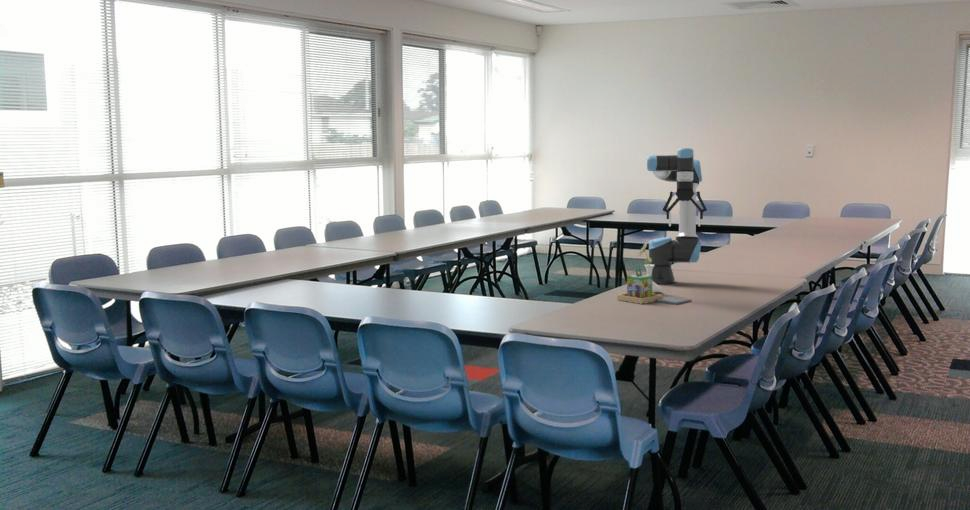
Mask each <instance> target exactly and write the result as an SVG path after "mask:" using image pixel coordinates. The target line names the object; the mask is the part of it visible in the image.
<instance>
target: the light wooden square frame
mask: <svg viewBox="0 0 970 510" xmlns="http://www.w3.org/2000/svg"><path fill="white" fill-rule="evenodd" d="M616 297H617V299H616V300H617V301H620V300H621V302H626V301H628V302H627V303H632V302H634V303H633V304H638V303H640V304H639V305H643V304H642V303H645V304H648V302H650V303H654V302H653V301H655V302H656V299H661V298H663V294H660V293H652V297H646V298H635V297H629V296H627V292H626V293H621V294H617V296H616Z"/></svg>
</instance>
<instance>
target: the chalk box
mask: <svg viewBox="0 0 970 510" xmlns="http://www.w3.org/2000/svg"><path fill="white" fill-rule="evenodd" d="M626 293H627V296H629V297H635V298H646V297H652V276H647V274H642V270H641V268H636V269H635V274H632V275H628V276H627V277H626Z"/></svg>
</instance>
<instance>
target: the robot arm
mask: <svg viewBox="0 0 970 510" xmlns="http://www.w3.org/2000/svg"><path fill="white" fill-rule="evenodd" d="M676 153H677V154H674V155H673V154H671V155H655V154H653V155H648V156H647V157H646V170H647V171H649V172H652V174H653V175H654V177H656V178H657V179H659V180H661V181H665V182H669V183H670V182H674V183H675V182H676V191H670V192H669V196H668V198H667V200H666V202H665V204H664V206H663V208H662V211H663V212H666V219H667V220H668V227H671V226H672V212H671V211H672V210H673V208H675V206H676V205H677V204H678V205H679V208H678V209H679V210H678V234H677V235H675V239H674V240H673V238H672V237H670V236H667V237H657V238H653V239H651V240H650V241H648V258H650V257H651V259H652V262H650V263H648V264H651V265H654V267H653V269H652V280H653V282H655V283H656V284H657V285H669V284H674V283H675V282H676V281H675V279H676V278H675V276H674V272H673V269H672V263H678V264H679V263H682V264H683V263H689V264H691V263H697V262H698V261H699V260H700V253H701V246H702V240H700V239H699V238H700V237H699V236H698V235H697V232H696V231H697V230H696V229H697V228H696V227H701V220H703V217H704V212H707V211H708V209H707V206H706V205H705V203H704V200H703V199H702V197H701V192H700V191H697V188H698V187H699V186H700V183H701V182H703V176H702V175H703V174H702V168H701V162H700V160H699V159H695V158H694V157H695V155H694V154H695V153H694V149H693V148H689V147H684V148H683V147H682V148H678V149H677V152H676ZM674 196H676V197H677V198H676V199H675V200H674V201H673V203H672V204H670V203H671V201H672V199H673V197H674ZM697 199H698V201H699V203H700V205H701V207H702V208H701V207H700V206H699V204H698V203H697ZM669 205H670V206H669ZM668 206H669V207H668ZM697 209H698V211H699V212H697ZM697 213H698V215H697ZM697 217H698V223H696V222H697ZM696 224H698V226H697V225H696Z"/></svg>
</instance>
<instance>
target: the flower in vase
mask: <svg viewBox="0 0 970 510" xmlns="http://www.w3.org/2000/svg"><path fill="white" fill-rule="evenodd" d="M647 246H648V244H647V242H645V243H643V245H642V247H641V248H640V251H639V252H638V255H637V257H638V258H639V257H641V256H642V255H643V254H644V253H645V256H646V259H645V260H644V261H643V264H644V267H645V269H646V275H647V276H652V269H653V267H654V265H651V264H649V263H650V262H652V259H651V257H650V258H649V256H648V254H647V252H646V248H647ZM646 263H647V264H646ZM661 290H662V289H661V287H660V285H659V284H656V283H655V282H653V280H652V293H654V294H658V293H660V292H661Z"/></svg>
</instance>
